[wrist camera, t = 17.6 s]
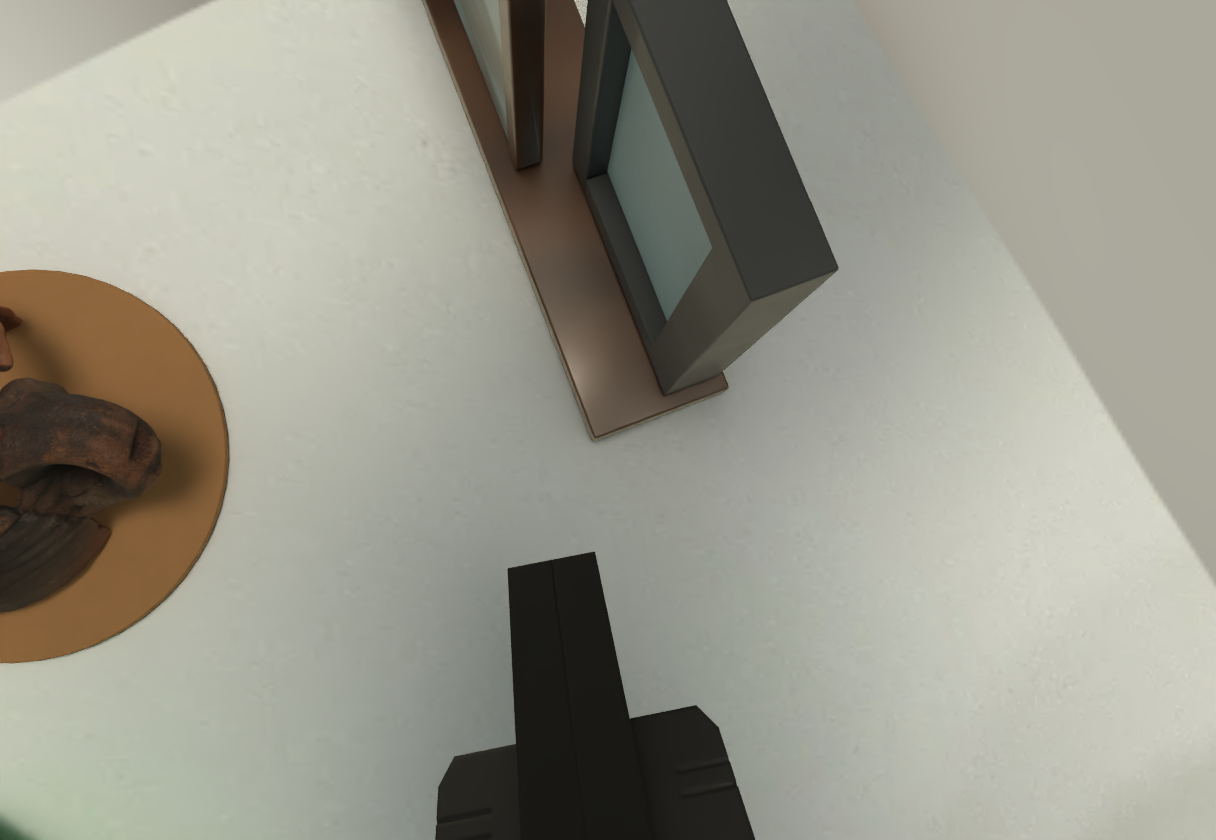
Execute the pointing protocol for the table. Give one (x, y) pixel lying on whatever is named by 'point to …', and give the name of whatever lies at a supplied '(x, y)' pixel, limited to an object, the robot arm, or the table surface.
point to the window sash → (691, 184)
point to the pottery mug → (61, 477)
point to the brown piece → (553, 197)
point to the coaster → (167, 401)
